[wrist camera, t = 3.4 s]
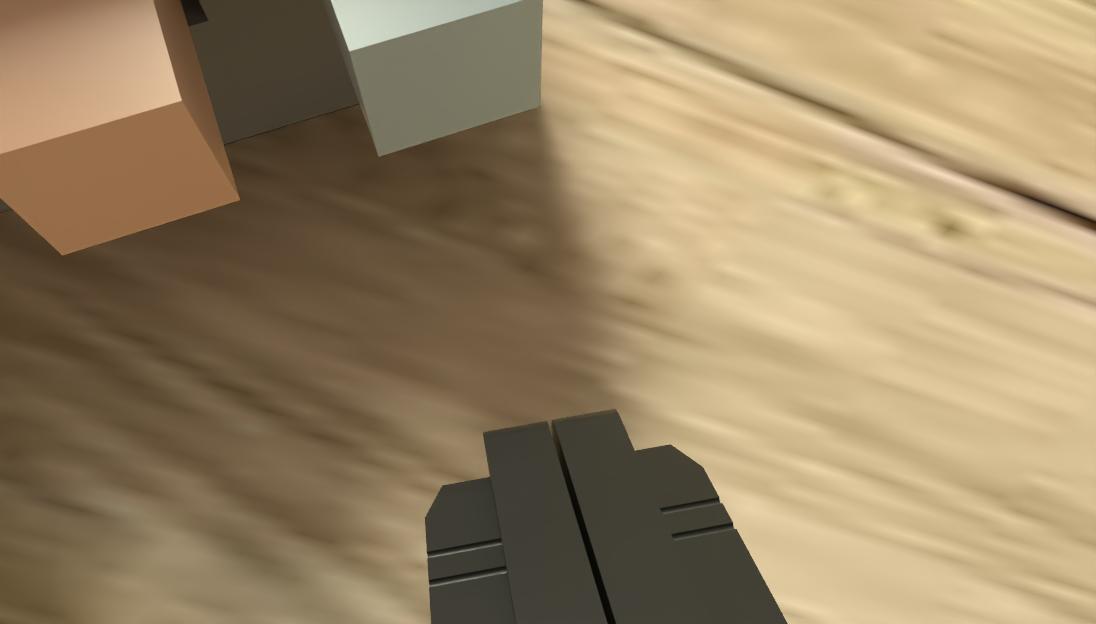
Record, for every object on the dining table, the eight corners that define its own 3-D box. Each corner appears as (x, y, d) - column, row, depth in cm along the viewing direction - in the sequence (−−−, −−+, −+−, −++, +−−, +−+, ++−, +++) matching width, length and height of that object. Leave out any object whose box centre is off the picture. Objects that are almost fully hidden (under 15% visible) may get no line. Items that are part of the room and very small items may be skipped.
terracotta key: (62, 255, 23) (-36, 164, 19) (6, 2, 26) (-91, -125, 22) (240, 199, 24) (181, 100, 20) (167, -42, 27) (103, -174, 23)
